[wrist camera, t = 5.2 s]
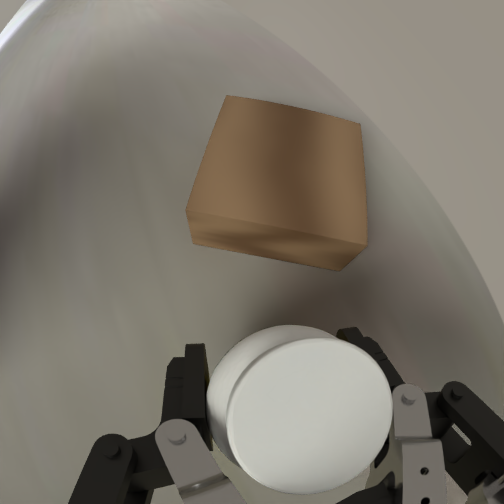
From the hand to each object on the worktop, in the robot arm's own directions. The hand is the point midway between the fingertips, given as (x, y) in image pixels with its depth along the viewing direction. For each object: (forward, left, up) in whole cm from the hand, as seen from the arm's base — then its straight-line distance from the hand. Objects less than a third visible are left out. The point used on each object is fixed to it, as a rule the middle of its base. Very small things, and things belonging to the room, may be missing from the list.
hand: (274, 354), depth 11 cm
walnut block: (-1, +10, -4) cm, 11 cm away
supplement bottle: (0, -2, -4) cm, 5 cm away
